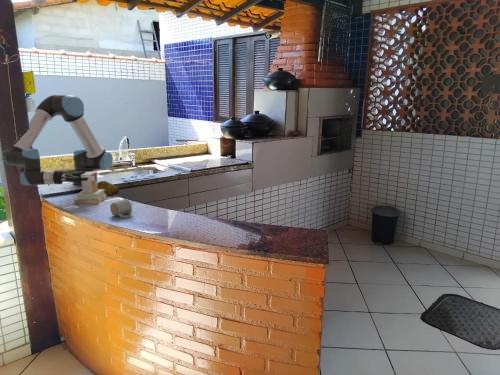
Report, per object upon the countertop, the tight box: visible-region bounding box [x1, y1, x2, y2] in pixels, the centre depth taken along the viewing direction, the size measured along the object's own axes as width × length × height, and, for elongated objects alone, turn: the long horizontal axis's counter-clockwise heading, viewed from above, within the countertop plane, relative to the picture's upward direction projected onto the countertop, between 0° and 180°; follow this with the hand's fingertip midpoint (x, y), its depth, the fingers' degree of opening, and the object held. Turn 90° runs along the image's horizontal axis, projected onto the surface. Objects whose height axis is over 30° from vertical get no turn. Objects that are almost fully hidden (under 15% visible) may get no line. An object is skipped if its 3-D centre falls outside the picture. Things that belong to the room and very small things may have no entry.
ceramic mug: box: [110, 198, 133, 219], centre depth 179 cm, size 11×8×8 cm
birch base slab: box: [74, 194, 108, 205], centre depth 206 cm, size 13×13×3 cm
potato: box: [97, 180, 120, 196], centre depth 219 cm, size 8×13×8 cm, turn 60°
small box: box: [81, 171, 99, 193], centre depth 204 cm, size 8×6×10 cm
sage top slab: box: [76, 189, 105, 199], centre depth 205 cm, size 11×11×3 cm
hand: (96, 176), depth 204 cm, fingers open, 13 cm apart
